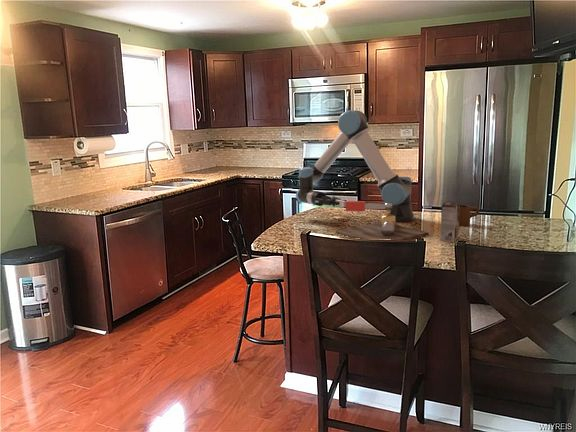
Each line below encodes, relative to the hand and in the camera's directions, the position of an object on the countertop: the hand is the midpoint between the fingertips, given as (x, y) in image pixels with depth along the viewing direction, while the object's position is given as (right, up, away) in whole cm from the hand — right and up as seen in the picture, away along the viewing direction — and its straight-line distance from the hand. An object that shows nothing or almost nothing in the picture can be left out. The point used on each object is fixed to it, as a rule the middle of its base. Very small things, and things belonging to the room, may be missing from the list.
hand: (344, 204), depth 228 cm
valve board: (+16, -15, -9) cm, 24 cm away
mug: (+62, -10, +5) cm, 63 cm away
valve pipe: (+20, -14, -7) cm, 25 cm away
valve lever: (+11, -3, -7) cm, 13 cm away
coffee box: (+44, -16, -21) cm, 52 cm away
